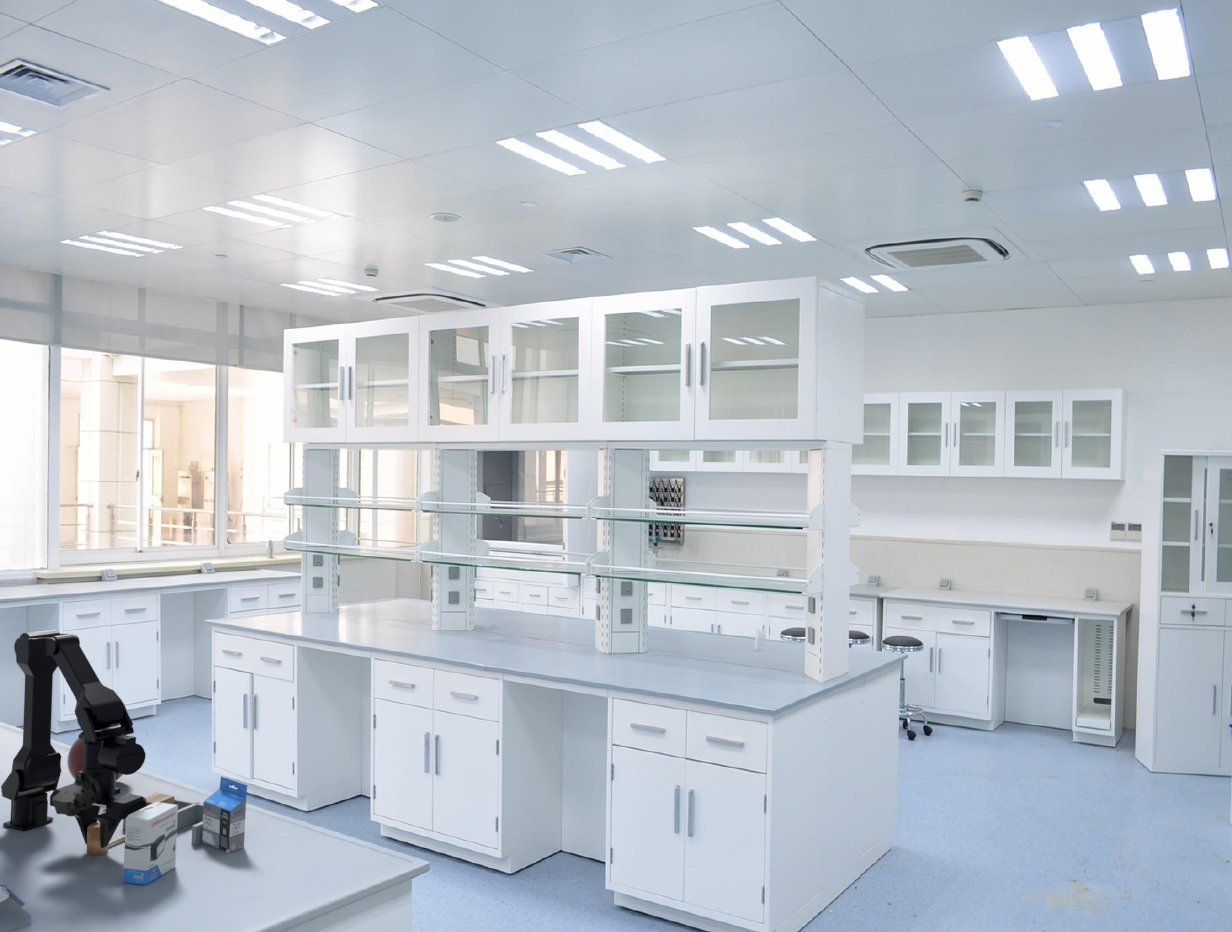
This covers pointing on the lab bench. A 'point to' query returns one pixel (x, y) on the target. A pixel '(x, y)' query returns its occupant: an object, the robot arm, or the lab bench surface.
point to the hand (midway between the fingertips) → (96, 845)
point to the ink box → (150, 843)
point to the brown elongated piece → (95, 843)
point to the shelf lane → (188, 817)
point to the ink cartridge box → (225, 817)
